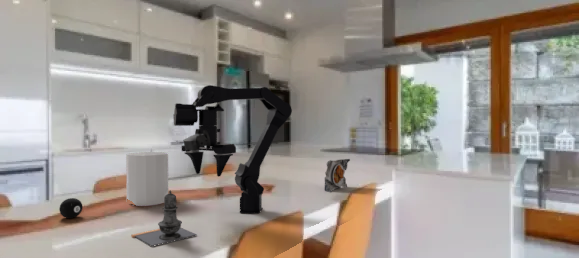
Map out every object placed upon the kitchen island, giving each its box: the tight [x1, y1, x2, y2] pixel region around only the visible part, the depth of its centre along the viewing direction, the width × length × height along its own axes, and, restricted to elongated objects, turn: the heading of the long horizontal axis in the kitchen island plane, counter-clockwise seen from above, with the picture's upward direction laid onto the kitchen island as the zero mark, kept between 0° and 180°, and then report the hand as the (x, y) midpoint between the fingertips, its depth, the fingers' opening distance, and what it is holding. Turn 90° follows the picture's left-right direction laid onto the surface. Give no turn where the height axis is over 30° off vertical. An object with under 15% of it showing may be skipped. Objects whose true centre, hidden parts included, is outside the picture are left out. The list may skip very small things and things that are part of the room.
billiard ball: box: [58, 197, 83, 219], centre depth 111 cm, size 6×6×6 cm
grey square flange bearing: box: [324, 158, 351, 193], centre depth 159 cm, size 15×4×13 cm, turn 142°
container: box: [125, 151, 169, 207], centre depth 134 cm, size 14×14×18 cm
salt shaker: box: [157, 190, 183, 240], centre depth 92 cm, size 6×6×12 cm
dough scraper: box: [130, 226, 198, 247], centre depth 94 cm, size 11×13×1 cm
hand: (208, 175), depth 114 cm, fingers open, 9 cm apart
